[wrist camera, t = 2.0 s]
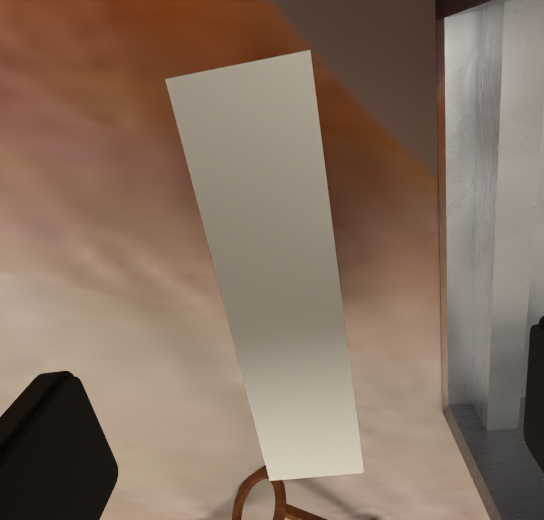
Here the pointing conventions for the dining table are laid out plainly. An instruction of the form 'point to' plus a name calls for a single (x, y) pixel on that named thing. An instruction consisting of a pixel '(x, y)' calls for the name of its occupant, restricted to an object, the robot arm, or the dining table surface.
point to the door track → (491, 237)
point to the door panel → (274, 255)
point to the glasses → (282, 510)
